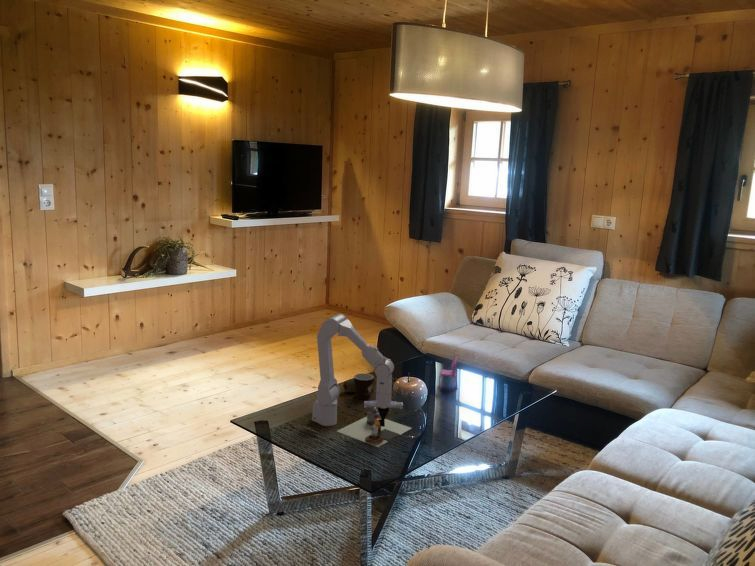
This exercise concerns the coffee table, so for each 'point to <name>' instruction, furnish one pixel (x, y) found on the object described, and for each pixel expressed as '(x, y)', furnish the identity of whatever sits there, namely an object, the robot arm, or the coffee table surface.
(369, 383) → the coffee mug
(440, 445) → the coffee table surface
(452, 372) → the toy chair
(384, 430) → the rubber pad
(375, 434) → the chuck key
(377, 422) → the lever
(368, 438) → the frame
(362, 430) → the board
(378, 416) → the cylinder
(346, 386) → the stone weight
